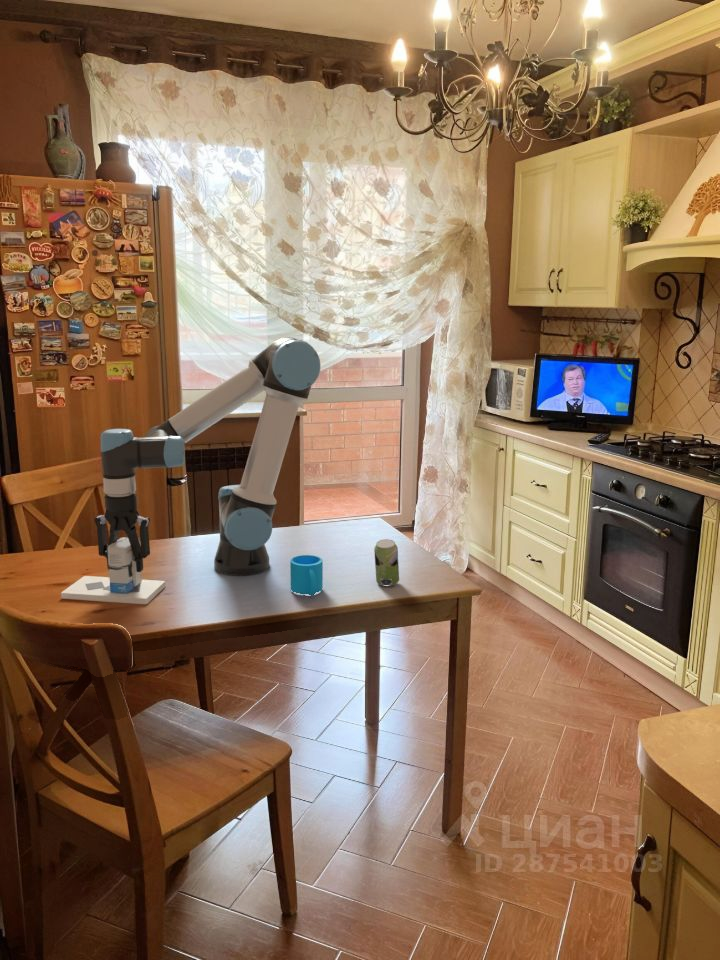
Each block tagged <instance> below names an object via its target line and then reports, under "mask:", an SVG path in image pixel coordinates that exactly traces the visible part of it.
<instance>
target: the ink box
mask: <svg viewBox="0 0 720 960" xmlns="http://www.w3.org/2000/svg"><path fill="white" fill-rule="evenodd" d="M138 539H139V543H140V538H138ZM140 544H141V543H140ZM107 546H108V545H107ZM133 559H135V558H134V554H133V551H132V548H131V545H130V542H129V539H128V537H124V536H123V537H120V538H119V539H117V541H116V542H114V543H112V544H111V545H109V546H108V563H109V570H108V576H109V579H110V592H115V593H129V592H130V591H131V590H133V589H134V588H135V587H136V586H134V585H133V570H132V560H133ZM140 575H141V582H142V580H143V579H142V571H141V572H140ZM141 582H140V583H141ZM140 583H139V584H140Z"/></svg>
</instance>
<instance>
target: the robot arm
mask: <svg viewBox="0 0 720 960" xmlns="http://www.w3.org/2000/svg"><path fill="white" fill-rule="evenodd" d="M320 373H321V360H320V356H319V354H318V353H317V351H316V350H315V348H314V347H313V345H311V344H310V343H308V342H306V341H304V340H303V339H299V338H298V339H297V338H295V337H281V338H279V339H277V340H275V341H273V342H272V343H271V344H269V345H268V346H266V348H265V349H263V350H262V351H261V352H259V353H258V354H257V355H255V356H254V357H252V358H251V359H250V360H249V362H248V366H246V367H244V368H243V369H241V370H240V371H239V372H237V373H236V374H234V375H233V376H230V378H228V379H227V380H225V381H224V382H222V383H220V384H219V385H217V386H216V387H215V388H213V389H212V390H210V391H209V392H207V393H206V394H204V395H203V396H201V397H200V398H198V399H197V400H195V401H194V402H193V403H190V404H189V405H188V406H186V407H185V408H183V409H182V410H180V411H179V412H177V413H176V414H174V415H173V416H171V417H170V418H168V419H167V420H166V421H164V422H162V423H161V424H160V425H156V426H154V427H153V426H152V428H150V429H149V430H148V431H147V433H146V434H145V436H144V437H138V436H137V437H135V436H134V433H133V431H132V430H131V429H127V428H112V429H111V428H110V429H106V430H103V431H102V432H101V434H100V457H101V458H100V459H101V469H102V484H103V493H104V496H103V498H104V509H105V512H104V514H103V515H102V514H100V515H98V516H96V517H95V518H94V519H93V520H94V524H95V525H96V530H97V532H96V533H97V535H96V536H97V547H98V549H97V550H98V555H99V556H100V557H102V556H103V557H105V558H106V562H107V563H106V564H107V565H106V566H107V570H108V571H109V563H108V546H109V545H111V544H112V543H114V542H116V541H117V540H119V539H118V538H119V533H120V531H124V533H125V535H126V536H127V538H128V539H129V542H130V545H131V548H132V551H133V554H134V558H135V559H133V560H132V570H133V585H134V586H137V585H138V584H139V583H140V582H141V576H142V574H141V575H140V572H141V573H142V571H143V570H144V559H146V558H147V557H149V556H150V554H151V548H150V533H149V525H150V521H151V519H150V518H149V516H148V517H144V516H141V515H140V514H139V511H138V499H137V495H138V494H137V493H136V491H137V483H136V469H155V468H159V469H160V468H161V469H162V468H168V469H171V468H174V467H175V468H176V467H182V466H184V464H185V461H186V460H185V459H186V457H185V454H186V453H185V444H186V443H188V442H190V441H191V440H192V439H194V438H195V437H196V436H198V435H200V434H201V433H203V432H204V431H206V430H207V429H208V428H210V427H211V426H213V425H214V424H217V423H218V422H220V421H221V420H222V419H223V418H224V419H225V417H227V416H228V415H229V414H231V413H233V412H234V411H235V410H238V408H240V407H242V406H243V405H244V404H246V403H247V402H249V401H251V400H253V399H254V398H255V397H257V396H258V395H260V394H262V393H263V392H264V391H265V397H264V402H263V406H262V408H261V412H260V416H259V418H258V422H257V426H256V428H255V433H254V435H253V436H254V437H253V440H252V444H251V447H250V449H249V453H248V457H247V460H246V465H245V468H244V472H243V474H242V477H241V480H240V483H239V484H232V485H225V486H221V487H220V488H219V491H218V496H217V499H218V510H219V516H218V517H219V542H218V546H217V550H216V552H215V555H214V559H213V562H214V563H213V564H214V567H213V568H214V570H215V571H217V572H218V573H221V574H224V575H228V576H251V575H256V574H259V572H260V573H262V572H264V570H265V571H266V570H268V569H269V568H268V567H270V556H269V553H268V550H267V547H266V544H267V542H269V540H270V538H271V535H272V533H273V521H272V519H273V515H274V513H275V509H276V506H277V499H276V497H275V496H274V493H275V492H274V491H275V487H276V486H277V485H276V484H277V481H278V478H279V475H280V472H281V468H282V465H283V461H284V458H285V454H286V452H287V448H288V445H289V441H290V438H291V434H292V430H293V427H294V424H295V421H296V417H297V414H298V411H299V408H300V405H301V404H302V403H304V402H306V401H307V400H308V399H309V395H310V391H311V388H312V385H314V384H315V382H316V381H317V379H318V378H319V375H320ZM107 523H108V524H109V525H110V527H109V537H108V533H107ZM136 523H138V526H139V536H138V534H137V527H136ZM139 539H140V543H139ZM267 568H268V569H267ZM250 574H251V575H250Z"/></svg>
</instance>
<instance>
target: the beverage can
mask: <svg viewBox="0 0 720 960" xmlns="http://www.w3.org/2000/svg"><path fill="white" fill-rule="evenodd" d="M373 549H374V563H375V564H374V565H375V581H376V583H377V584H378V585H380V584H381V585H394V586H395V585H397V584H398V583H399V581H400V571H399V570H400V567H399V548H398V546H397V544H396V542H395V541H394V540H393V539H380V540H379V541H377V542H376V544H375V546H374V548H373ZM381 585H380V586H381Z"/></svg>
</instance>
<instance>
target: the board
mask: <svg viewBox="0 0 720 960" xmlns="http://www.w3.org/2000/svg"><path fill="white" fill-rule="evenodd" d="M166 586H167V585H166V580H156V579H155V580H154V579H153V580H152V579H142V582H141V583H140V584H138V585H137V586H136V587H135V588H134V589H133V590H131V591H130V592H129V593H115V592H110V579H109V577H108V576H107V577H106V576H95V575H94V576H92V575H84V576H82V577H81V578H80V579H78V580H76V581H75V582H74V583H72V584H71V585H69V587H67V588H66V589H64V590H63V591H62V592H60V598H61V599H62V600H64V599H65V600H74V601H75V600H78V601H90V602H91V601H92V602H106V603H118V604H119V603H122V604H135V605H148V604H149V603H150V602H152V600H153V599H154V598H155V597H156V596H157V595H158V594H160V592H162V591H163V590H164V589H165V588H166Z"/></svg>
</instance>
